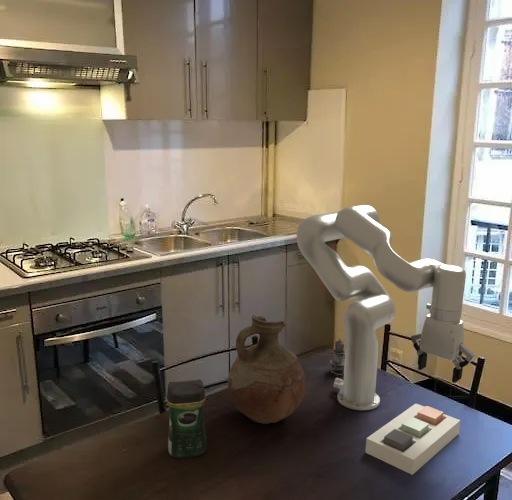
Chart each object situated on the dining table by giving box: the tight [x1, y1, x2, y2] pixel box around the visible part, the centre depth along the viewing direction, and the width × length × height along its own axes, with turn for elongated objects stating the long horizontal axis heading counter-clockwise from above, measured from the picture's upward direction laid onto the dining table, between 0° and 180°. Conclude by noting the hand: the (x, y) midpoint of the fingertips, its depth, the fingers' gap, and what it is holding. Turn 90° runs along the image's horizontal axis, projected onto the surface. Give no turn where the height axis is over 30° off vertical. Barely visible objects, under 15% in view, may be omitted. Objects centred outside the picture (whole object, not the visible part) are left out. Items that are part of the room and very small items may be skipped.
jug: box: [227, 314, 307, 425], centre depth 152 cm, size 22×22×30 cm
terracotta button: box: [417, 405, 444, 426], centre depth 149 cm, size 5×5×2 cm
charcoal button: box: [384, 429, 413, 452], centre depth 137 cm, size 5×5×2 cm
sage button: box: [401, 417, 429, 439], centre depth 143 cm, size 5×5×2 cm
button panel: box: [365, 403, 461, 476], centre depth 144 cm, size 13×26×4 cm, turn 136°
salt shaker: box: [329, 338, 345, 375], centre depth 184 cm, size 6×6×12 cm
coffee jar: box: [165, 378, 207, 459], centre depth 137 cm, size 10×8×19 cm
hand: (438, 374), depth 146 cm, fingers open, 9 cm apart
